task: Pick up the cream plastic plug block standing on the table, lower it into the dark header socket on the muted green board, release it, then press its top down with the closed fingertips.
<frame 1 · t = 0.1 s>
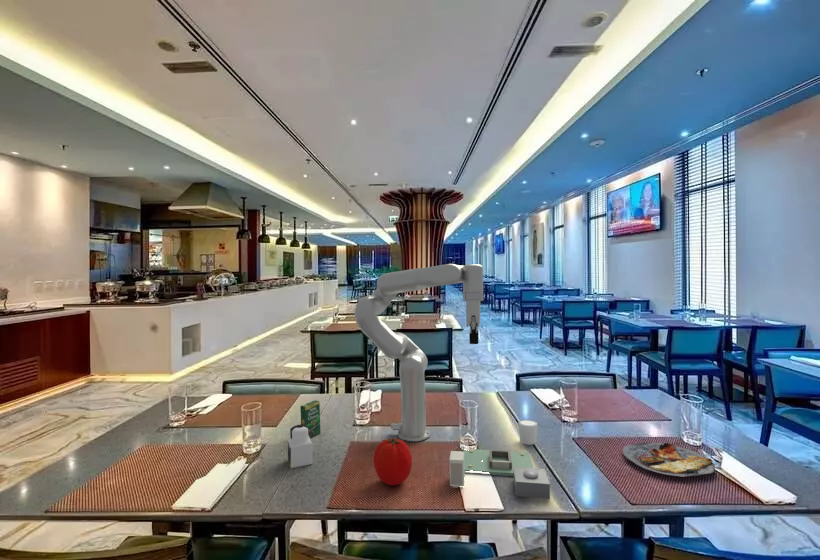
hand: (474, 341, 153), 37 cm above the table, tool pointing down, fingers open, 9 cm apart
plug: (457, 482, 120), on the table
tomato: (393, 483, 120), on the table
medicine bottle: (300, 462, 135), on the table
grey push button box: (531, 489, 115), on the table
food plate: (667, 464, 130), on the table
socket: (500, 465, 130), resting on board
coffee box: (310, 436, 158), on the table
board: (497, 463, 132), on the table
gray cup: (528, 442, 149), on the table
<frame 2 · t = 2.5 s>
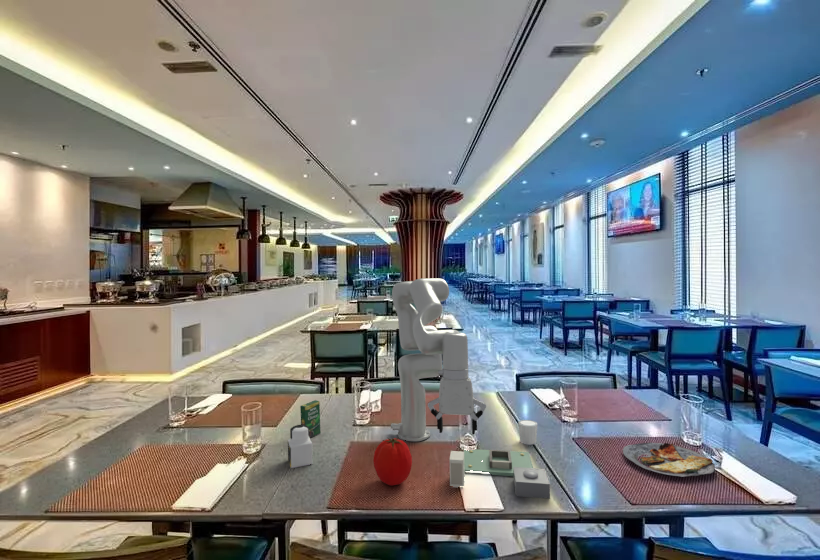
hand: (457, 432, 120), 15 cm above the table, tool pointing down, fingers open, 9 cm apart
nothing on the table moved.
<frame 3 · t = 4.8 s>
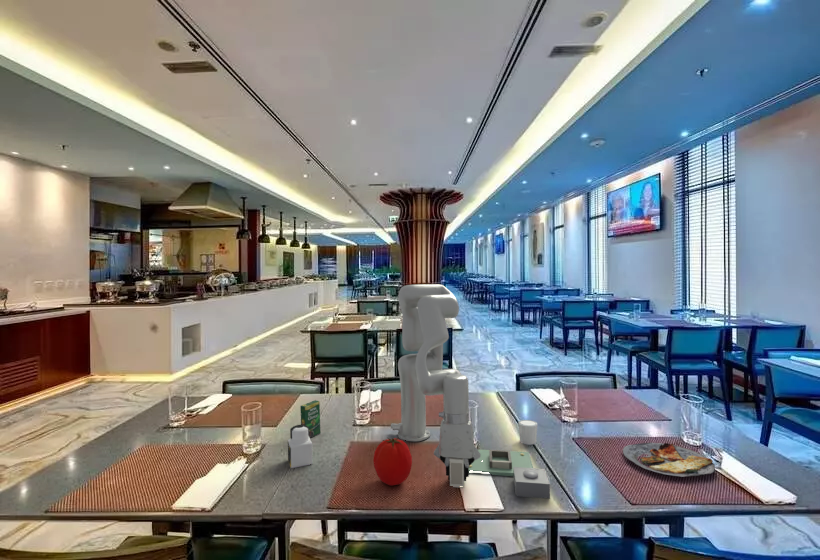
hand: (457, 477, 120), 1 cm above the table, tool pointing down, fingers closed on plug, 4 cm apart
plug: (457, 482, 120), on the table, touching gripper
everything else where it was.
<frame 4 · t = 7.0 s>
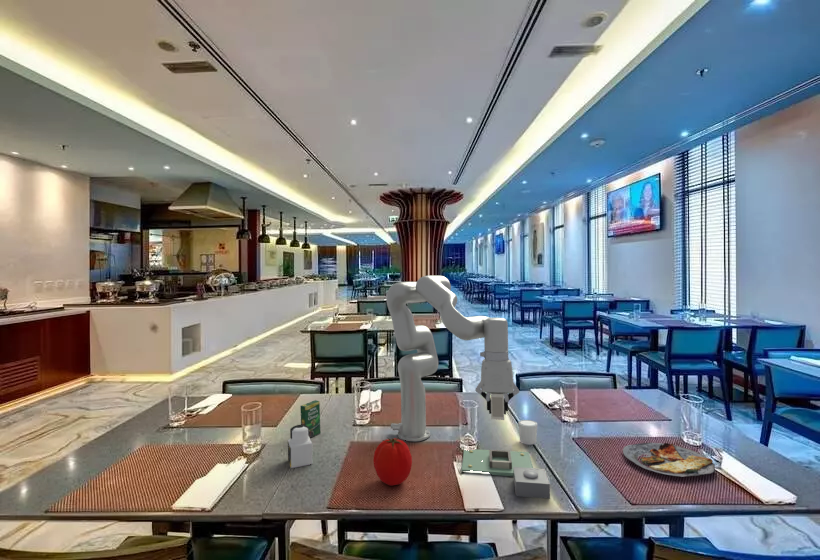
hand: (497, 412, 130), 17 cm above the table, tool pointing down, fingers closed on plug, 4 cm apart
plug: (497, 416, 130), point 16 cm above the table, touching gripper
everything else where it was.
when the fingers open (3 cm above the table, at t = 9.5 s): plug drops 1 cm, resting on board.
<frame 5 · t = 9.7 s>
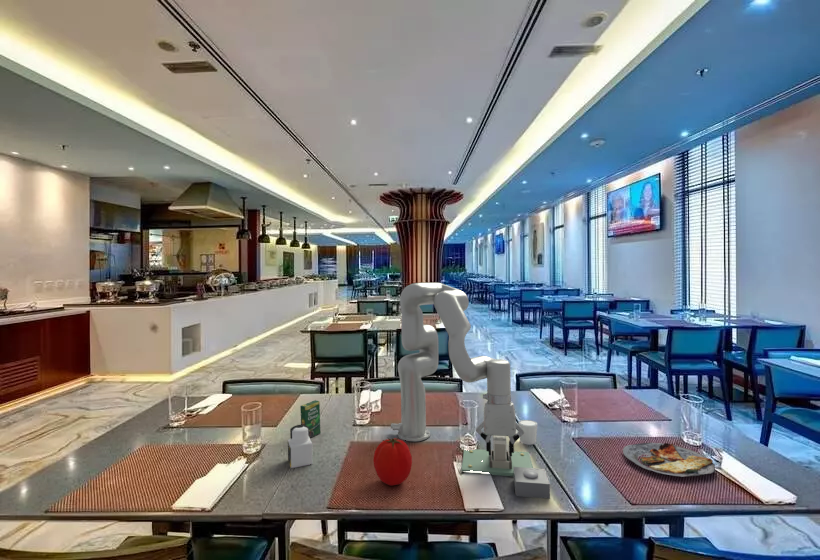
hand: (500, 453, 130), 4 cm above the table, tool pointing down, fingers open, 6 cm apart
plug: (500, 462, 130), point 1 cm above the table, touching board
everything else where it was.
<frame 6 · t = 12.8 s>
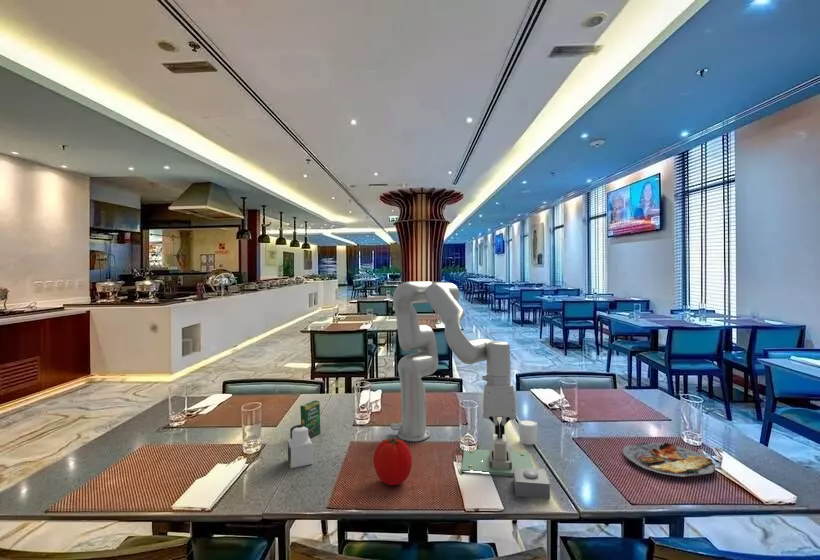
hand: (499, 436, 130), 9 cm above the table, tool pointing down, fingers closed
nothing on the table moved.
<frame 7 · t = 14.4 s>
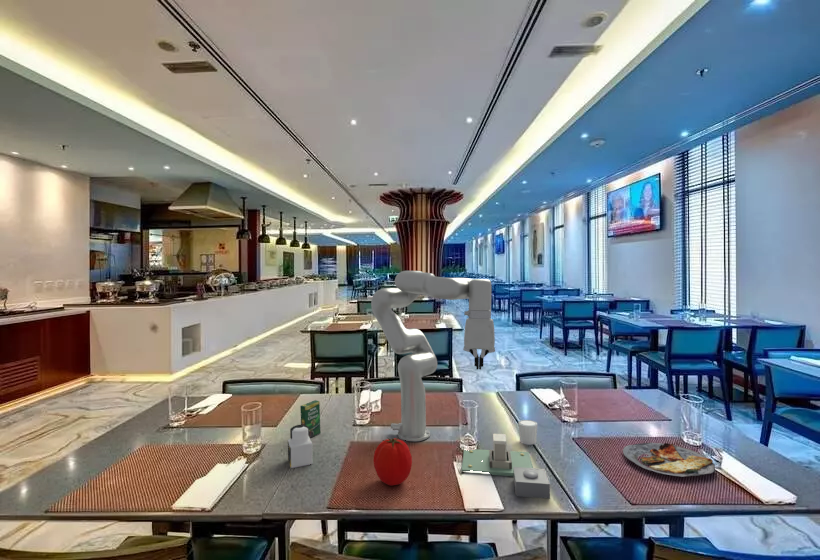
hand: (478, 368, 138), 30 cm above the table, tool pointing down, fingers closed
nothing on the table moved.
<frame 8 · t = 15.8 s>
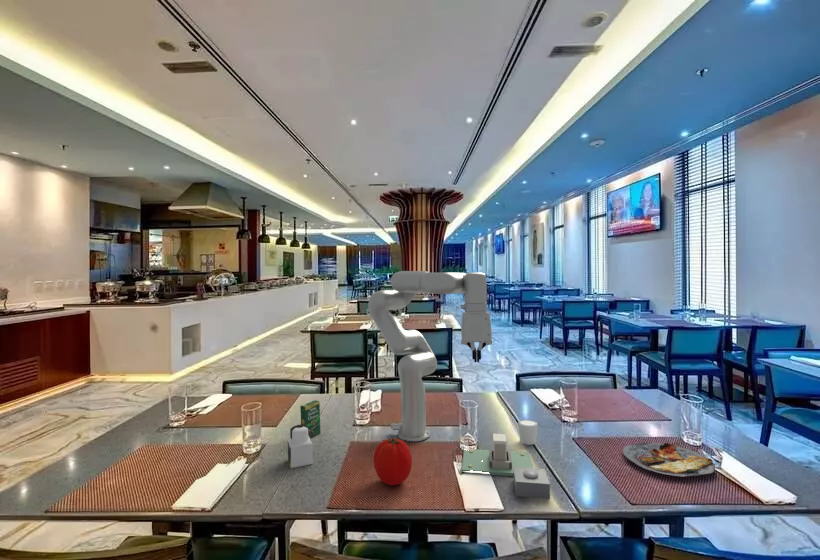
hand: (476, 361, 139), 32 cm above the table, tool pointing down, fingers closed
nothing on the table moved.
at the end: plug 0.1 cm off-centre on the socket, point 1.0 cm above the socket's base; plug tilted 0°; the gripper is holding nothing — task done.
